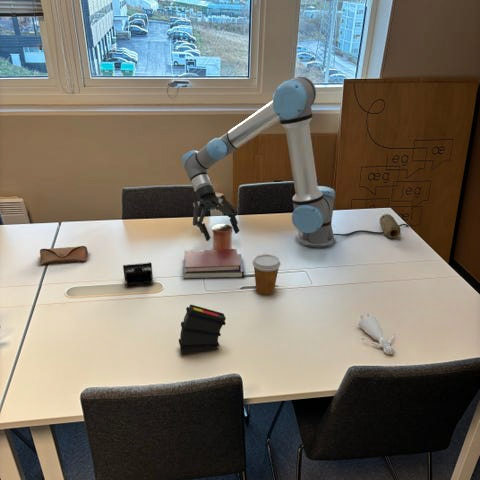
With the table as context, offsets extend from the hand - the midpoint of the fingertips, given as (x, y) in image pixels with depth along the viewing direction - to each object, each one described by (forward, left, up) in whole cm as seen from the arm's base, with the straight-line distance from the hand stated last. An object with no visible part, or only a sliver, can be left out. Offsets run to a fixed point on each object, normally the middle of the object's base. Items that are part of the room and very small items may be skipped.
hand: (223, 235), depth 201 cm
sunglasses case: (+62, +5, -7) cm, 63 cm away
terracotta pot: (0, -1, -7) cm, 7 cm away
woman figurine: (-45, +64, -7) cm, 78 cm away
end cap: (+31, +25, -7) cm, 40 cm away
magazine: (+8, +67, -7) cm, 67 cm away
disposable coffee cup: (-14, +33, -7) cm, 36 cm away
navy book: (+4, +16, -7) cm, 18 cm away
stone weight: (-74, -16, -7) cm, 76 cm away
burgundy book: (+5, +16, -4) cm, 17 cm away
